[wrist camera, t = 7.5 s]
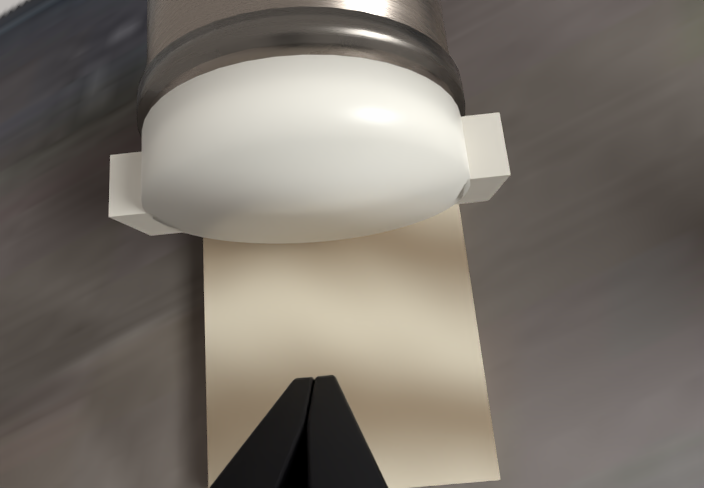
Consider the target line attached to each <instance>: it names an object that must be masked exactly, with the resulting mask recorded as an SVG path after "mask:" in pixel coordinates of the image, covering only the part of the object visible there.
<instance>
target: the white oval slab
mask: <svg viewBox="0 0 704 488" xmlns="http://www.w3.org/2000/svg"><path fill="white" fill-rule="evenodd" d="M510 175H511V174H510V169H509V163H508V157H507V152H506V146H505V141H504V135H503V130H502V124H501V119H500V113H490V114H481V115H472V116H463V117H461V115H460V112H459V109H458V106H457V104H456V103H455V101H454V100H453V98H452V97H451V96H450V95H449V94H448V93H447V92H446V91H445V90H444V89H443V88H442V87H441V86H439V85H438V84H436V83H435V82H433V81H431V80H430V79H428V78H427V77H425V76H422V75H420V74H418V73H416V72H413V71H411V70H409V69H406V68H402V67H399V66H396V65H393V64H389V63H386V62H381V61H376V60H370V59H365V58H359V57H349V56H339V55H292V56H278V57H270V58H264V59H257V60H251V61H245V62H241V63H237V64H233V65H229V66H225V67H222V68H218V69H215V70H213V71H210V72H207V73H205V74H202V75H199V76H196V77H194V78H192V79H190V80H188V81H186V82H185V83H183V84H181V85H179V86H177V87H175V88H174V89H172V90H171V91H170V92H168V93H167V94H165V95H164V96H163V97H161V98H160V99H159V101H158V102H157V103H156V104H155V105H154V106H153V107H152V108H151V109H150V111H149V113H148V114H147V116H146V118H145V119H144V123H143V128H142V152H133V153H124V154H115V155H110V183H109V217H110V218H112V219H114V220H116V221H119V222H121V223H123V224H125V225H128V226H130V227H132V228H135V229H137V230H139V231H141V232H144V233H146V234H148V235H150V236H153V235H162V234H172V233H182V232H183V233H187V234H191V235H195V236H199V237H204V238H210V239H216V240H223V241H233V242H245V243H266V244H286V243H310V242H322V241H333V240H341V239H348V238H355V237H361V236H367V235H372V234H377V233H382V232H386V231H390V230H394V229H398V228H402V227H405V226H408V225H412V224H415V223H417V222H420V221H423V220H426V219H428V218H430V217H433V216H435V215H437V214H439V213H441V212H443V211H445V210H447V209H448V208H450V207H452V206H453V205H455V204H462V203H472V202H481V201H489V199H490V198H491V197H492V196H493V195H494V194H495V192H496V191H497V190H498V189H499V188H500V187H501V185H502V184H503V183H504V182H505V181H506V180H507V178H508V177H509V176H510Z"/></svg>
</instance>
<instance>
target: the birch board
mask: <svg viewBox="0 0 704 488" xmlns="http://www.w3.org/2000/svg"><path fill="white" fill-rule="evenodd" d="M203 260H204V308H205V356H206V404H207V452H208V488H209V487H210V486H211V485H212V483H213V482H214V481H215V480H216V478H217V477H218V476H219V474H220V473H221V472H222V471H223V469H224V468H225V467H226V465H227V464H228V463H229V462H230V460H231V459H232V458H233V456H234V455H235V454H236V453H237V451H238V450H239V449H240V448H241V446H242V445H243V444H244V442H245V441H246V440H247V439H248V437H249V436H250V435H251V433H252V432H253V431H254V430H255V428H256V427H257V426H258V424H259V423H260V422H261V421H262V419H263V418H264V417H265V415H266V414H267V413H268V412H269V410H270V409H271V408H272V406H273V405H274V404H275V403H276V401H277V400H278V399H279V397H280V396H281V395H282V394H283V392H284V391H285V390H286V388H287V387H288V386H289V385H290V383H291V382H292V381H293V380H294V379H295V378H302V377H313V378H314V379H315V378H316V377H317V376H325V375H334V376H335V377H336V378H337V380H338V383H339V385H340V387H341V389H342V391H343V393H344V395H345V397H346V399H347V401H348V404H349V406H350V408H351V410H352V412H353V414H354V416H355V418H356V420H357V423H358V425H359V427H360V429H361V431H362V433H363V435H364V437H365V439H366V442H367V444H368V446H369V448H370V450H371V452H372V454H373V456H374V458H375V460H376V463H377V465H378V467H379V469H380V471H381V473H382V475H383V477H384V479H385V482H386V484H387V486H388V488H411V487H423V486H435V485H447V484H458V483H470V482H482V481H494V480H500V474H499V467H498V460H497V454H496V447H495V440H494V434H493V427H492V421H491V414H490V407H489V401H488V394H487V387H486V381H485V374H484V368H483V361H482V354H481V348H480V341H479V335H478V328H477V321H476V315H475V308H474V301H473V295H472V288H471V282H470V275H469V268H468V262H467V255H466V249H465V242H464V235H463V229H462V222H461V215H460V209H459V204H455V205H453V206H452V207H450V208H448V209H447V210H445V211H443V212H441V213H439V214H437V215H435V216H433V217H430V218H428V219H426V220H423V221H420V222H417V223H415V224H412V225H408V226H405V227H402V228H398V229H394V230H390V231H386V232H382V233H377V234H372V235H367V236H361V237H355V238H348V239H341V240H333V241H322V242H310V243H286V244H266V243H245V242H233V241H223V240H216V239H210V238H204V237H203Z"/></svg>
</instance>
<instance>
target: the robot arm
mask: <svg viewBox="0 0 704 488" xmlns="http://www.w3.org/2000/svg"><path fill="white" fill-rule="evenodd" d="M209 488H388V486H387V484H386V482H385V479H384V477H383V475H382V473H381V471H380V469H379V467H378V465H377V463H376V460H375V458H374V456H373V454H372V452H371V450H370V448H369V446H368V444H367V442H366V439H365V437H364V435H363V433H362V431H361V429H360V427H359V425H358V423H357V420H356V418H355V416H354V414H353V412H352V410H351V408H350V406H349V404H348V401H347V399H346V397H345V395H344V393H343V391H342V389H341V387H340V385H339V383H338V380H337V378H336V377H335V376H334V375H325V376H317V377H316V378H315V379H314V378H313V377H302V378H295V379H294V380H293V381H292V382H291V383H290V385H289V386H288V387H287V388H286V390H285V391H284V392H283V394H282V395H281V396H280V397H279V399H278V400H277V401H276V403H275V404H274V405H273V406H272V408H271V409H270V410H269V412H268V413H267V414H266V415H265V417H264V418H263V419H262V421H261V422H260V423H259V424H258V426H257V427H256V428H255V430H254V431H253V432H252V433H251V435H250V436H249V437H248V439H247V440H246V441H245V442H244V444H243V445H242V446H241V448H240V449H239V450H238V451H237V453H236V454H235V455H234V456H233V458H232V459H231V460H230V462H229V463H228V464H227V465H226V467H225V468H224V469H223V471H222V472H221V473H220V474H219V476H218V477H217V478H216V480H215V481H214V482H213V483H212V485H211V486H210V487H209Z"/></svg>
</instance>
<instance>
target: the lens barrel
mask: <svg viewBox="0 0 704 488" xmlns="http://www.w3.org/2000/svg"><path fill="white" fill-rule="evenodd" d="M292 55H339V56H349V57H359V58H365V59H370V60H376V61H381V62H386V63H389V64H393V65H396V66H399V67H402V68H406V69H409V70H411V71H413V72H416V73H418V74H420V75H422V76H425V77H427V78H428V79H430V80H431V81H433V82H435V83H436V84H438V85H439V86H441V87H442V88H443V89H444V90H445V91H446V92H447V93H448V94H449V95H450V96H451V97H452V98H453V100H454V101H455V103H456V104H457V106H458V109H459V112H460V115H461V117H463V116H465V100H464V93H463V87H462V81H461V78H460V74H459V70H458V68H457V66H456V65H455V63H454V61H453V59H452V58H451V57H450V56H449V52H448V46H447V40H446V33H445V27H444V21H443V14H442V8H441V2H440V0H147V67H146V69H145V71H144V73H143V75H142V77H141V79H140V81H139V87H138V92H137V124H138V130H139V133H140V135H141V138H142V128H143V123H144V119H145V118H146V116H147V114H148V113H149V111H150V109H151V108H152V107H153V106H154V105H155V104H156V103H157V102H158V101H159V99H160V98H161V97H163V96H164V95H165V94H167V93H168V92H170V91H171V90H172V89H174V88H175V87H177V86H179V85H181V84H183V83H185V82H186V81H188V80H190V79H192V78H194V77H196V76H199V75H202V74H205V73H207V72H210V71H213V70H215V69H218V68H222V67H225V66H229V65H233V64H237V63H241V62H245V61H251V60H257V59H264V58H270V57H278V56H292Z"/></svg>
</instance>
